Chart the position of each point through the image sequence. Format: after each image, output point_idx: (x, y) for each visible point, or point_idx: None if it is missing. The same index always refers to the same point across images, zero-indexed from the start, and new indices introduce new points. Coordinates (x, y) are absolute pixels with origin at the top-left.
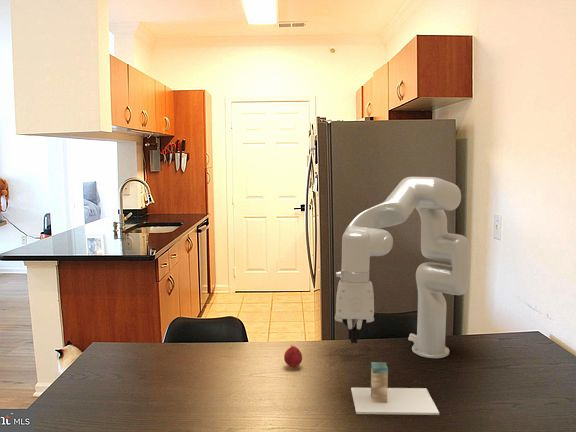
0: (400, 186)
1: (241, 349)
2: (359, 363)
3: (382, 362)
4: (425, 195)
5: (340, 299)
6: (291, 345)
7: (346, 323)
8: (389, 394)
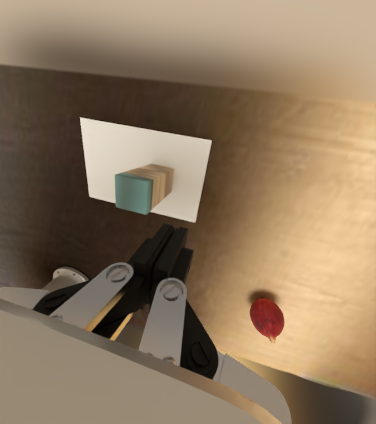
0: None
1: (319, 364)
2: None
3: (122, 207)
4: None
5: None
6: (274, 340)
7: (189, 328)
8: None
